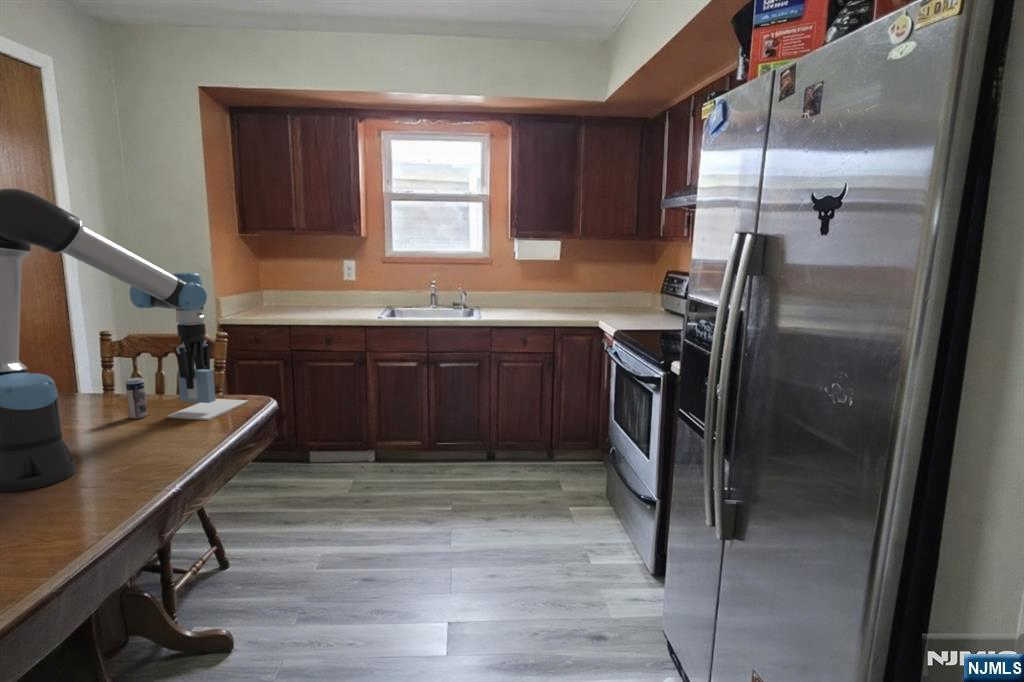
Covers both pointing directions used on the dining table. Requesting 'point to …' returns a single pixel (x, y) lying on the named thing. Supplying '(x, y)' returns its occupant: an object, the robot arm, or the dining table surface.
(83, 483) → the dining table surface
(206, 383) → the block
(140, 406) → the beer can
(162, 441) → the dining table surface
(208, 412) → the mat
